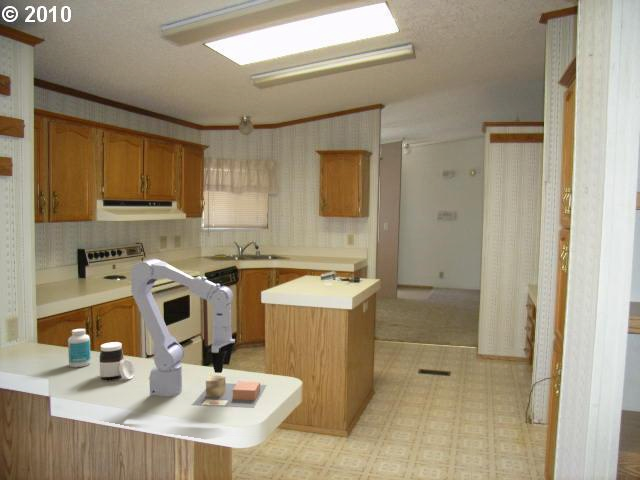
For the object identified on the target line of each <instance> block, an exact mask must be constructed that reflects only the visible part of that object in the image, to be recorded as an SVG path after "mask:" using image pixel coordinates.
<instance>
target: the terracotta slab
mask: <svg viewBox="0 0 640 480" xmlns="http://www.w3.org/2000/svg"><path fill="white" fill-rule="evenodd" d="M235 384H236V386H235V387H234V388H233V399H243V400H255V399H256V397H257V396H258V394H259V392H260V385H261V381H239V380H238V382H237V383H235Z"/></svg>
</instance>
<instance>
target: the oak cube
mask: <svg viewBox="0 0 640 480" xmlns="http://www.w3.org/2000/svg"><path fill="white" fill-rule="evenodd" d="M225 383H226V376H225V375H214V374H213V375H209V376H208V378H207V379H206V380H205V389H206V396H208V397H221V396H222V395H223V394H224V392H225V391H226V389H225Z"/></svg>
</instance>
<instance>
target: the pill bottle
mask: <svg viewBox="0 0 640 480" xmlns="http://www.w3.org/2000/svg"><path fill="white" fill-rule="evenodd" d="M86 331H87V330H86V328H76V329H72V330H71V334H72V335H70V337H68V339H67V347H68V348H67V349H68V366H69V367H71V368H82V367H86V366H89V365H90V364H91V361H92V360H91V359H92V358H91V338H90V335H88V334H86V333H87V332H86Z"/></svg>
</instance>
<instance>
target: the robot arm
mask: <svg viewBox="0 0 640 480" xmlns="http://www.w3.org/2000/svg"><path fill="white" fill-rule="evenodd" d="M129 275H130V277H131V288H130V291H131V294H132V297H133V299H134V301H135V303H136V306H137V308H138V310H139V312H140V314H141V317H142V319H143V321H144V323H145V326H146V328H147V331H148V332H149V336H151V337H150V338H151V340H152V342H153V347H152V354H153V357H154V365H155V366H156V367H155V366H154V367H152V368H151V370H150V374H149V397H151V396H161V397H173V396H177V395H179V394H181V393H182V392H183V375H182V373H183V372H182V370H183V369H182V365H183V364H182V360H183V358H184V357H185V350H184V347H183V346H182V345H181V344H180V343H179V342H178V340H177V338H176V337H174V336H173V335H171V334H170V331H169V329H168V327H167V325H166V324H167V323H166V322H165V319H164V318H163V316H162V313H161V311H160V308H159V307H158V304H157V302H156V300H155V298H154V296H153V293H152V288H153V286H154V284H155V282H156V281H157V280H158V279H159V280H160V279H167V280H171V281H173V282H175V283H178V284H179V285H182V286H185V287H187V288H188V289H189V292H190V294H193V295H195V296H197V297H199V298H201V299H203V300H205V301H207V302H209V303H210V304H211V306H212V340H211V344H212V345H211V348H210V349H208V350H207V355H208V356H209V358H210V360H211V364H212V367H213V371H214V373H217V374H222V373H223V369H224V365H227V366H228V365H230V362H231V357H232V353H233V350H234V347H235V345H236V339H235V338H233V337H232V336H233V334H232V303H231V302H232V301H233V299H234V292H233V290H232V289H231V288H230V287H228V286H227V285H222V286H221V283H214V282H213V281H210V280H209V279H208V277H206V276H196V277H193V276H191V275H189V274H187V273H185V272H184V271H182V270H180V269H178V268H176V267H174V266H173V265H170V264H169V263H168V262H166V261H163V260H160V259H158V258H155V257H154V258H153V257H152V258H150V259H148V260H143V261H141V260H140V261H138V262H136V263H135V264H134V265H133V267H132V268H131V270H130V272H129Z"/></svg>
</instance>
